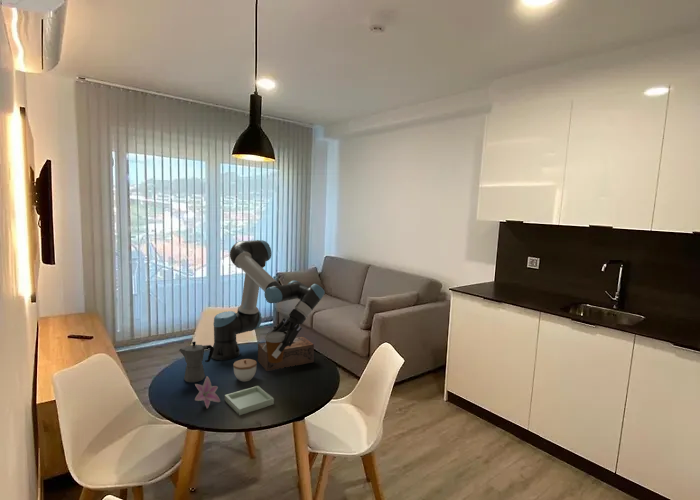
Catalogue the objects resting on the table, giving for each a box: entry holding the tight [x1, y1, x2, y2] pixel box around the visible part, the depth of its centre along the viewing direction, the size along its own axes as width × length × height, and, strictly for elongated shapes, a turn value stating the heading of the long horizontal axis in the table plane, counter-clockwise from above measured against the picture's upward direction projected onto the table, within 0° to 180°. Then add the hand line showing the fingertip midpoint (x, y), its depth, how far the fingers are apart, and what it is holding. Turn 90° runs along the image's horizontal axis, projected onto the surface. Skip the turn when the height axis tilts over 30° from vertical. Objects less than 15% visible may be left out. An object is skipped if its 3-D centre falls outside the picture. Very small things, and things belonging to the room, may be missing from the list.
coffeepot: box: [178, 341, 214, 383], centre depth 186 cm, size 15×9×18 cm, turn 110°
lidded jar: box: [233, 358, 258, 382], centre depth 187 cm, size 11×11×9 cm
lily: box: [194, 375, 221, 409], centre depth 163 cm, size 12×12×10 cm
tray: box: [224, 385, 275, 416], centre depth 164 cm, size 15×15×2 cm
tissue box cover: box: [257, 336, 315, 372], centre depth 209 cm, size 26×14×10 cm, turn 120°
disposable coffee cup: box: [264, 331, 286, 363], centre depth 177 cm, size 10×10×12 cm
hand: (269, 353), depth 175 cm, fingers closed on disposable coffee cup, 9 cm apart
